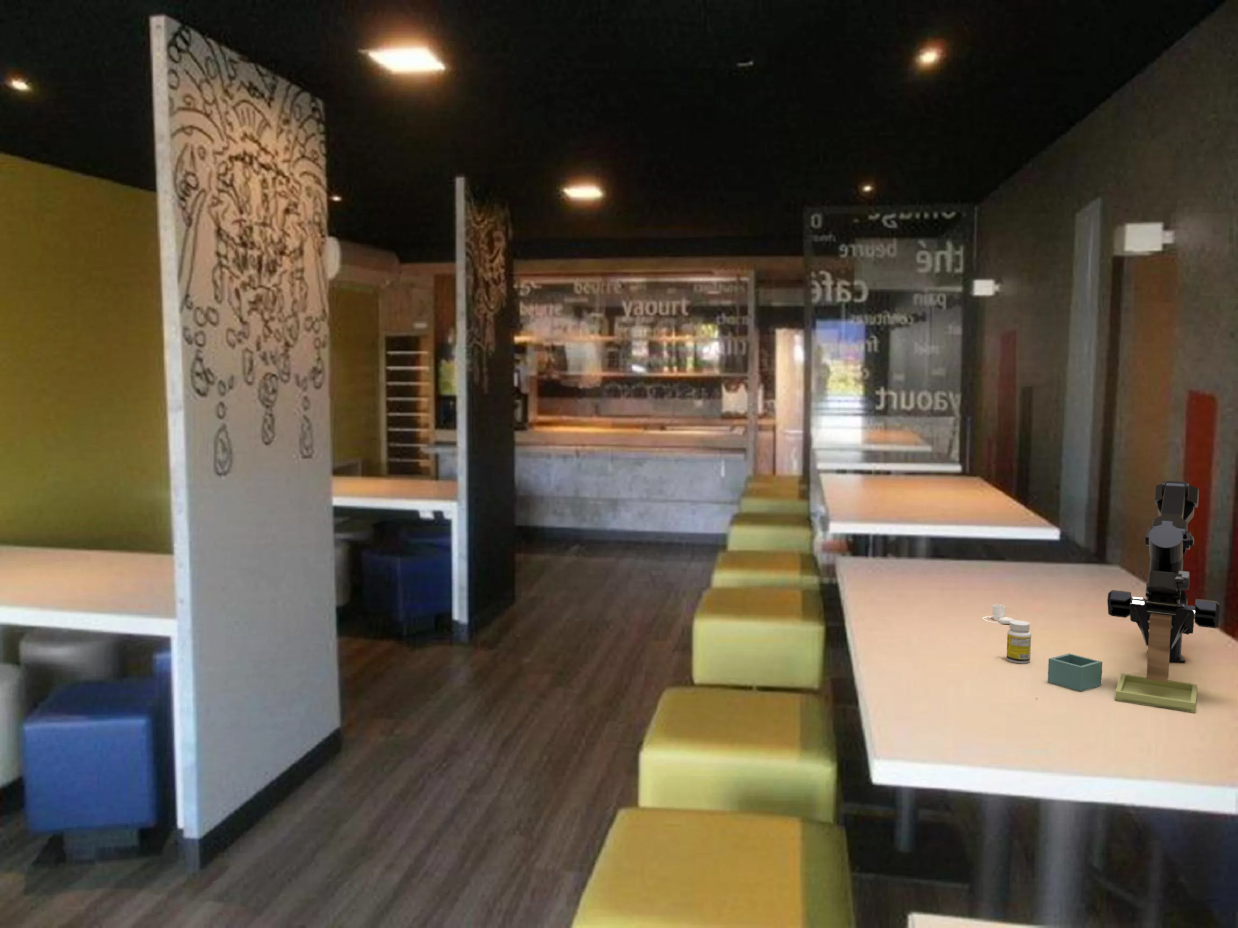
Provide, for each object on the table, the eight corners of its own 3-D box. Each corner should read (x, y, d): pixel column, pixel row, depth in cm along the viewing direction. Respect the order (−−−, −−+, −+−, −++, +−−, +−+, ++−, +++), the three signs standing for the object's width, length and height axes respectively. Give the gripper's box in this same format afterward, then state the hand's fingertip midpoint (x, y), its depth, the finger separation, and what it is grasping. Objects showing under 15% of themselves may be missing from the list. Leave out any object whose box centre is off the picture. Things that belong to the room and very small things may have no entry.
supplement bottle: (1010, 656, 212) (1012, 618, 211) (1033, 660, 209) (1034, 621, 208) (1003, 661, 208) (1004, 622, 207) (1026, 665, 205) (1027, 626, 204)
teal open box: (1068, 676, 198) (1069, 653, 197) (1101, 685, 192) (1102, 661, 191) (1047, 681, 194) (1048, 658, 193) (1080, 691, 188) (1081, 667, 187)
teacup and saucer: (1017, 627, 238) (1017, 611, 237) (982, 624, 240) (983, 608, 240) (1015, 619, 246) (1015, 603, 246) (981, 616, 248) (982, 600, 248)
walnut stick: (1147, 674, 187) (1150, 613, 186) (1168, 677, 185) (1171, 615, 184) (1146, 679, 184) (1149, 617, 183) (1167, 682, 182) (1171, 619, 181)
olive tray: (1121, 681, 194) (1121, 673, 194) (1196, 693, 187) (1197, 684, 187) (1115, 700, 183) (1115, 690, 183) (1195, 712, 176) (1195, 703, 176)
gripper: (1110, 549, 191) (1102, 616, 182) (1222, 559, 181) (1218, 630, 173) (1112, 581, 198) (1104, 647, 190) (1219, 592, 188) (1216, 662, 180)
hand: (1158, 646), depth 183 cm, fingers closed on walnut stick, 3 cm apart
